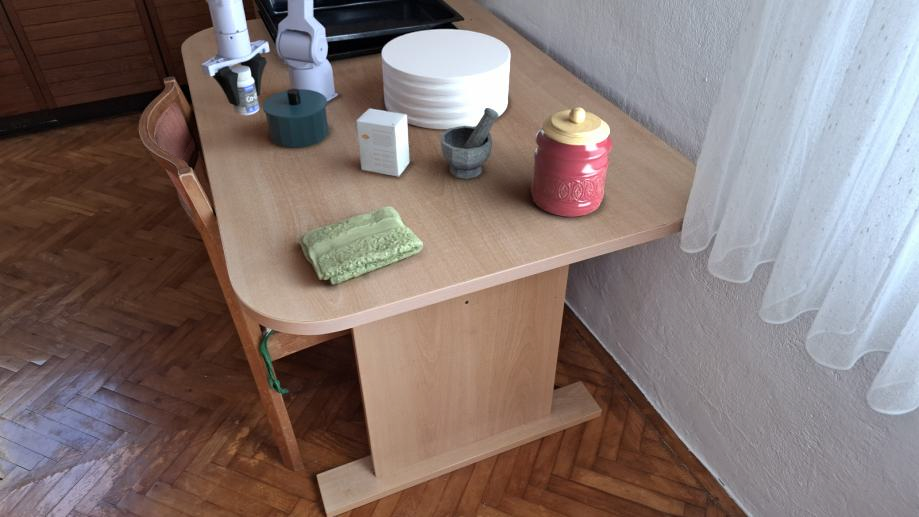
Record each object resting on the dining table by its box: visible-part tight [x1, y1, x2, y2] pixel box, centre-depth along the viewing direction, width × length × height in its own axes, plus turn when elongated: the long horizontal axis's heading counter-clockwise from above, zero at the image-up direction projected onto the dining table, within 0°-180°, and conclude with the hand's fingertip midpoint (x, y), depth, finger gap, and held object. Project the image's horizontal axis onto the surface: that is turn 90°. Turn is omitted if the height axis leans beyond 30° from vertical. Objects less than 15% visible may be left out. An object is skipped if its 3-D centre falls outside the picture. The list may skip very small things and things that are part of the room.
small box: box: [355, 107, 411, 178], centre depth 123 cm, size 8×6×10 cm
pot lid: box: [261, 88, 328, 119], centre depth 132 cm, size 13×13×4 cm
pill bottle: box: [229, 65, 260, 116], centre depth 125 cm, size 5×5×8 cm
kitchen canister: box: [530, 106, 613, 218], centre depth 113 cm, size 13×13×18 cm
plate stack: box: [381, 28, 512, 130], centre depth 146 cm, size 28×28×12 cm
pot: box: [265, 106, 329, 149], centre depth 135 cm, size 12×12×6 cm
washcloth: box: [297, 205, 424, 286], centre depth 105 cm, size 13×18×3 cm
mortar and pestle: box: [440, 108, 500, 179], centre depth 122 cm, size 11×9×12 cm
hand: (245, 99), depth 127 cm, fingers closed on pill bottle, 5 cm apart
